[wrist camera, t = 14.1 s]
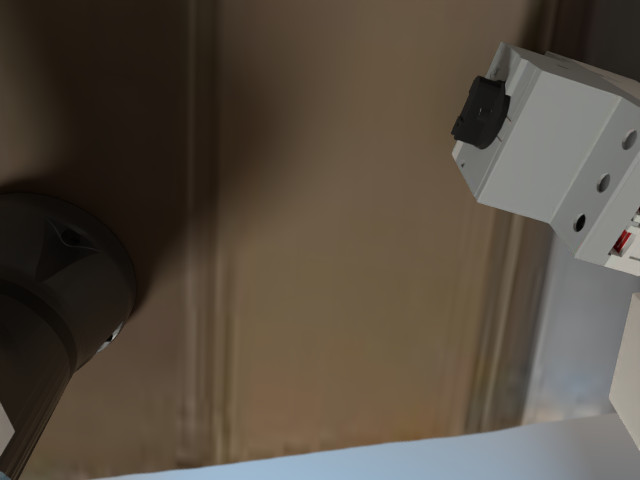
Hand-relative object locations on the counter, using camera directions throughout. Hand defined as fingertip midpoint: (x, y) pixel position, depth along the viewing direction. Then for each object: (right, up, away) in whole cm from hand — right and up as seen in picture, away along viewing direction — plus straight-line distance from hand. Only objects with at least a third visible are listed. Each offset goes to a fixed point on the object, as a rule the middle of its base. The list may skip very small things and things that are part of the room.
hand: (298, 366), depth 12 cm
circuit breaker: (+15, +12, +29) cm, 35 cm away
